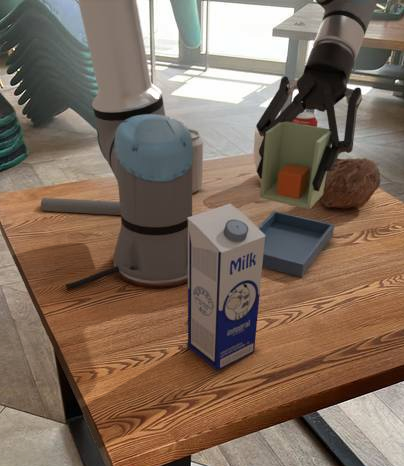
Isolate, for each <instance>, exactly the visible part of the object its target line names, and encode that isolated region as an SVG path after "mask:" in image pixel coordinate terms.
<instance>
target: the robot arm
mask: <svg viewBox="0 0 404 466" xmlns="http://www.w3.org/2000/svg"><path fill="white" fill-rule="evenodd" d="M77 2H78V5H79V11H80V15H81V19H82V23H83V24H82V25H83V28H84V33H85V37H86V41H87V46H88V50H89V53H90V59H91V64H92V68H93V72H94V76H95V80H96V81H95V82H96V86H97V90H98V91H97V94H96V95H95V97H94V98H93V100H92V102H91V105H92V109H93V114H94V118H95V122H96V126H97V129H96V133H97V135H96V139H97V144H98V147H99V151H100V153H101V154H102V156H103V158H104V159H105V161H106V162H107V163H108V165H109V167H110V170H111V172H112V173H113V175H114V177H115V180H116V182H117V187H118V196H119V197H118V198H119V202H120V211H121V215H120V223H121V225H120V230H119V233H118V236H117V241H116V244H115V248H114V251H113V267H110V268H108V269H105V270H102V271H99V272H97V273H94V274H92V275H89V276H87V277H84V278H81V279H79V280H75V281H73V282H69V283H66V284H65V288H66V290H68V291H69V290H72V289H76V288H79V287H83V286H85V285H87V284H90V283H92V282H95V281H97V280H100V279H103V278H106V277H108V276H111V275H114V274H116V275H117V276H118V277H119V278H120V279H121V280H123V281H125V282H127V283H129V284H131V285H134V286H137V287H143V288H151V289H163V288H165V289H166V288H172V287H177V286H181V285H183V284H186V283H188V219H187V218H188V217H190V216H193V193H192V175H193V158H194V152H193V151H194V149H193V146H192V137H191V133H190V131H189V130H188V129H189V128H188V127H187V126H186V125H185V124H184V123H183V122H182V121H180V120H178V119H176V118H171V117H169V116H167V115H166V110H165V104H164V98H163V93H162V90H161V89H160V88H159V87H158V86H156V85H155V84H153V82H152V81H151V76H150V69H149V65H148V58H147V52H146V46H145V41H144V34H143V29H142V22H141V17H140V11H139V4H138V0H77ZM315 2H316V3H317V4H318V5H319V6H321V8H322V9H323V10H324V13H323V17H322V19H321V23H320V25H319V28H318V31H317V33H316V36H315V38H314V41H313V44H312V48H311V50H310V53H309V55H308V58H307V60H306V64H305V66H304V70H303V72H302V74H301V76H300V77H298V79H289V77H288V76H283V77H281V79H280V82H279V86H278V89H277V90H276V93H275V94H274V96H273V97H272V99H271V100H270V102H269V104H268V106H267V107H266V109H265V110H264V112H263V114H262V115H261V116H260V118H259V120H258V122H257V123H256V126H255V127H256V129H257V130H258V132H259V134H260V136H263V137H264V138H263V140H262V143H261V146H260V149H259V154H260V157H262V158H261V160H260V163H259V166H258V168H257V169H256V173H257V176H258V175H259V176H258V178H259V177H260V179H262V169H263V157H264V146H265V135H266V132H267V131H268V130H270V129H271V128H273V127H274V126H275V125H277V124H278V123H279V122H280V123H282V122H285V121H287V122H292V121H293V120H294V119H295V118H296V117H297V116H298V115H299V114H300V113H303V112H304V111H306V110H309V111H310V110H311V111H312V110H317V111H319V112H323V113H325V112H326V116H327V123H328V129H329V131H330V132H331V134H330V138H331V147H330V146H326V147H325V150H324V153H323V156H322V158H321V161H320V164H319V167H318V169H317V172H316V175H315V177H314V180H313V183H312V184H313V187H314V190H315V191H319V190H320V187H321V184H322V181H323V179H324V176H325V173H326V171H330V172H331V171H332V170H333V168H334V166H335V163H336V160H337V159H338V157H339V155H340V154H341V153H347V154H350V153H351V152H353V149H354V148H353V147H354V140H355V131H356V121H357V113H358V108H359V107H360V105H361V103H362V101H363V98H362V95H363V94H362V88H361V87H355V88H354V89H353V88H350V87H348V83H349V80H350V77H351V75H352V73H353V69H354V66H355V62H356V60H357V57H358V55H359V52H360V50H361V47H362V44H363V42H364V40H365V39H364V38H365V36H366V33H367V30H368V28H369V25H370V22H371V20H372V17H373V14H374V12H375V9H376V7H377V5H378V3H379V0H315ZM295 90H297V91H298V93H297V94H296V95H295V96H294V97H293V99H292V101H291V102H290V104H288V106H287V107H285V108H284V106H285V105H286V103H287V101H288V99H289V97H290V96H292V94H293V93H294V91H295ZM345 98H346V103H347V108H346V110H347V111H346V119H345V127H344V129H345V130H344V138H343V140H340V138H339V131H338V123H337V118H336V111H335V106H336V104H338V103H339V102H340V101H342V100H343V99H345ZM283 108H284V110H282V109H283ZM281 111H282V112H281Z"/></svg>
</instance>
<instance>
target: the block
mask: <svg viewBox="0 0 404 466" xmlns="http://www.w3.org/2000/svg"><path fill="white" fill-rule="evenodd" d="M308 176H309V168H306V167H301V166H296V165H291V164H287V165H286V166H285V167H283V168H282V169H281V170H280V171H279V175H278V184H277V194H278V195H282V196H287V197H291V198H295V199H299V198H300V197H301V196H302V195H303V194H304V193H305V192H306V190H307V183H308Z"/></svg>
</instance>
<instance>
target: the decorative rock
mask: <svg viewBox="0 0 404 466" xmlns="http://www.w3.org/2000/svg"><path fill="white" fill-rule="evenodd" d="M380 185H381V172H380V169H379V167H378V165H377V163H376V162H375V161H374V160H371V159H368V158H366V157H363V158H360V157H359V158H358V157H357V158H345V159H344V158H340V157H339V158H338V157H337V160H336V163H335V166H334V168H333V170H332V171H331V172H330V171H327V174H326V180H325V186H324V192H323V195H322V196H321V197H320V198H319V199H318V201H320V202H321V203H322V205H323V206H324V207H326V208H338V209H341V210H344V209H350V208H356V209H360V208H363V207H364V206H365V205H366V204H367V203H368V202H369V200H370V199H371V198H372V196H373V195H374V194H375V192H376V191H377V190H378V189H379V187H380Z"/></svg>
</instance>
